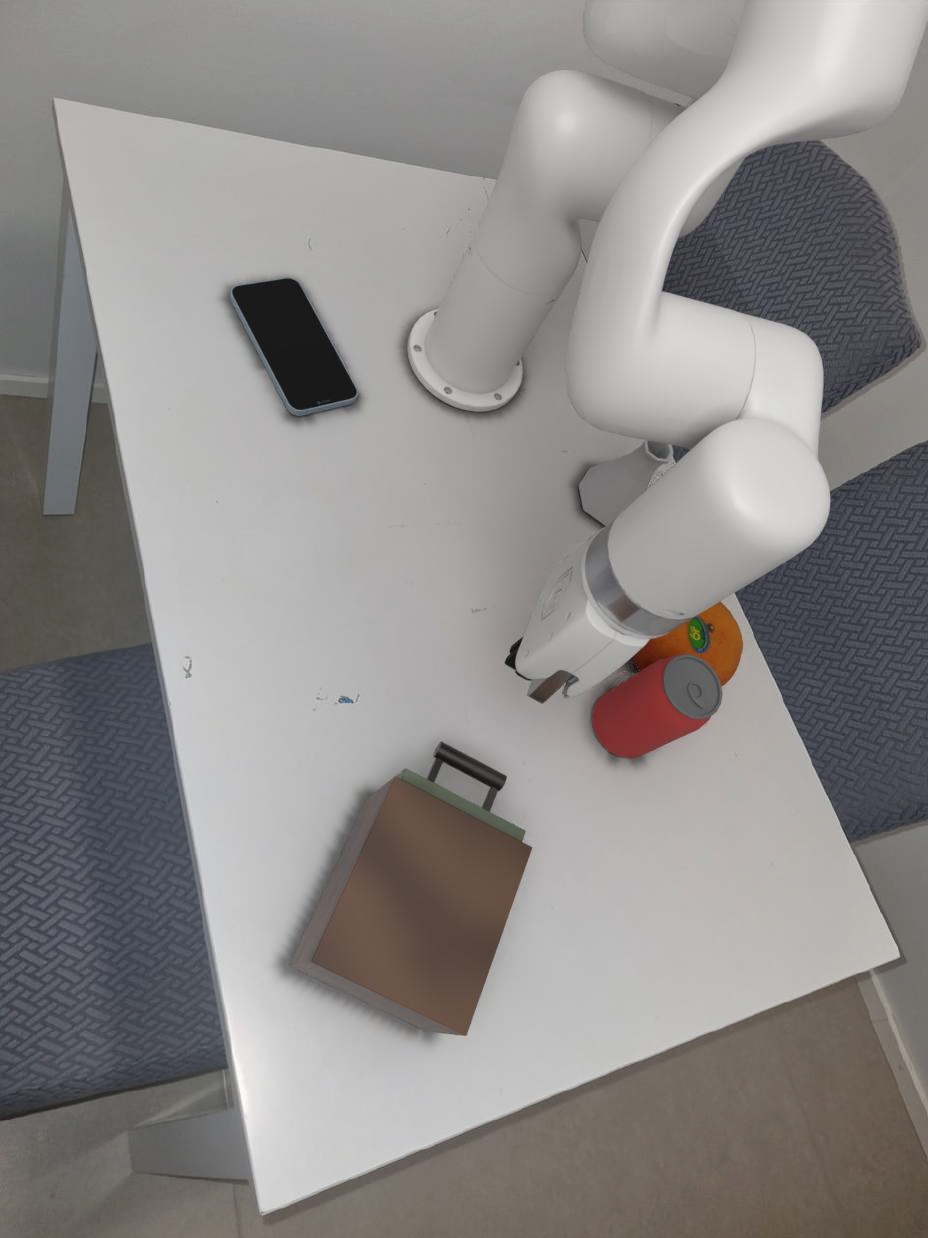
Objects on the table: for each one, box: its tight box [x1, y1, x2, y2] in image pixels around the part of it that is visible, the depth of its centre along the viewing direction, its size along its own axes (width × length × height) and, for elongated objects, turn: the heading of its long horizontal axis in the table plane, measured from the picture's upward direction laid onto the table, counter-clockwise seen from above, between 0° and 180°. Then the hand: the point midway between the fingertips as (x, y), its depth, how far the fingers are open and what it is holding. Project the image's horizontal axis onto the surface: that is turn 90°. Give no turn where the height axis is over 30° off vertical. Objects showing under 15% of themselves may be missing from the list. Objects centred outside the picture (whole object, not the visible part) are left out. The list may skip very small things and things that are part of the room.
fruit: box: [632, 601, 744, 687], centre depth 82 cm, size 11×10×8 cm
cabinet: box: [288, 775, 533, 1037], centre depth 64 cm, size 14×12×9 cm
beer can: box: [591, 654, 723, 759], centre depth 76 cm, size 7×7×12 cm
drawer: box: [395, 741, 527, 842], centre depth 65 cm, size 17×10×7 cm, turn 157°
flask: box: [578, 440, 674, 527], centre depth 87 cm, size 7×7×10 cm
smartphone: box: [229, 276, 359, 417], centre depth 84 cm, size 7×1×15 cm
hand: (524, 664), depth 68 cm, fingers closed
